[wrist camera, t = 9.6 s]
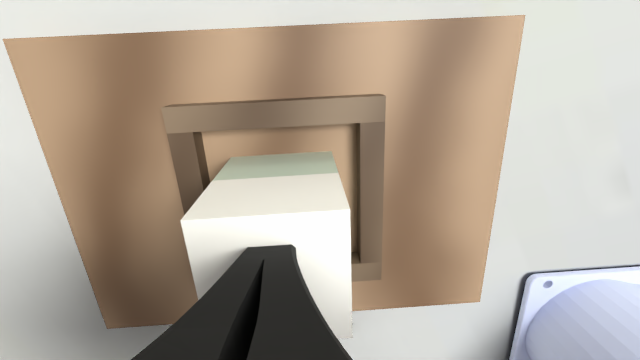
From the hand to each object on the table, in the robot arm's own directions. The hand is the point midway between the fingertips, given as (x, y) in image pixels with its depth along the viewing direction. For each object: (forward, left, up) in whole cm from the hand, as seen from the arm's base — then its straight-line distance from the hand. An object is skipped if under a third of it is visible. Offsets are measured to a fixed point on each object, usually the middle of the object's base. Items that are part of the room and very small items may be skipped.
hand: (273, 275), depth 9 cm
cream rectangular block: (0, 0, -6) cm, 6 cm away
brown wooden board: (0, 0, -7) cm, 7 cm away
